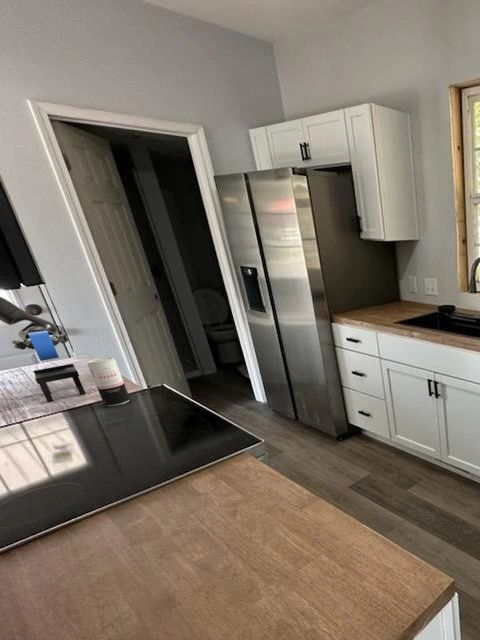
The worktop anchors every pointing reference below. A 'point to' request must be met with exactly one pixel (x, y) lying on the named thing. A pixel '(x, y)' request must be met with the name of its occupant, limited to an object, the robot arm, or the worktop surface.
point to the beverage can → (108, 381)
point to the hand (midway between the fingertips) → (43, 344)
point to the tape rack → (57, 378)
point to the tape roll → (43, 345)
